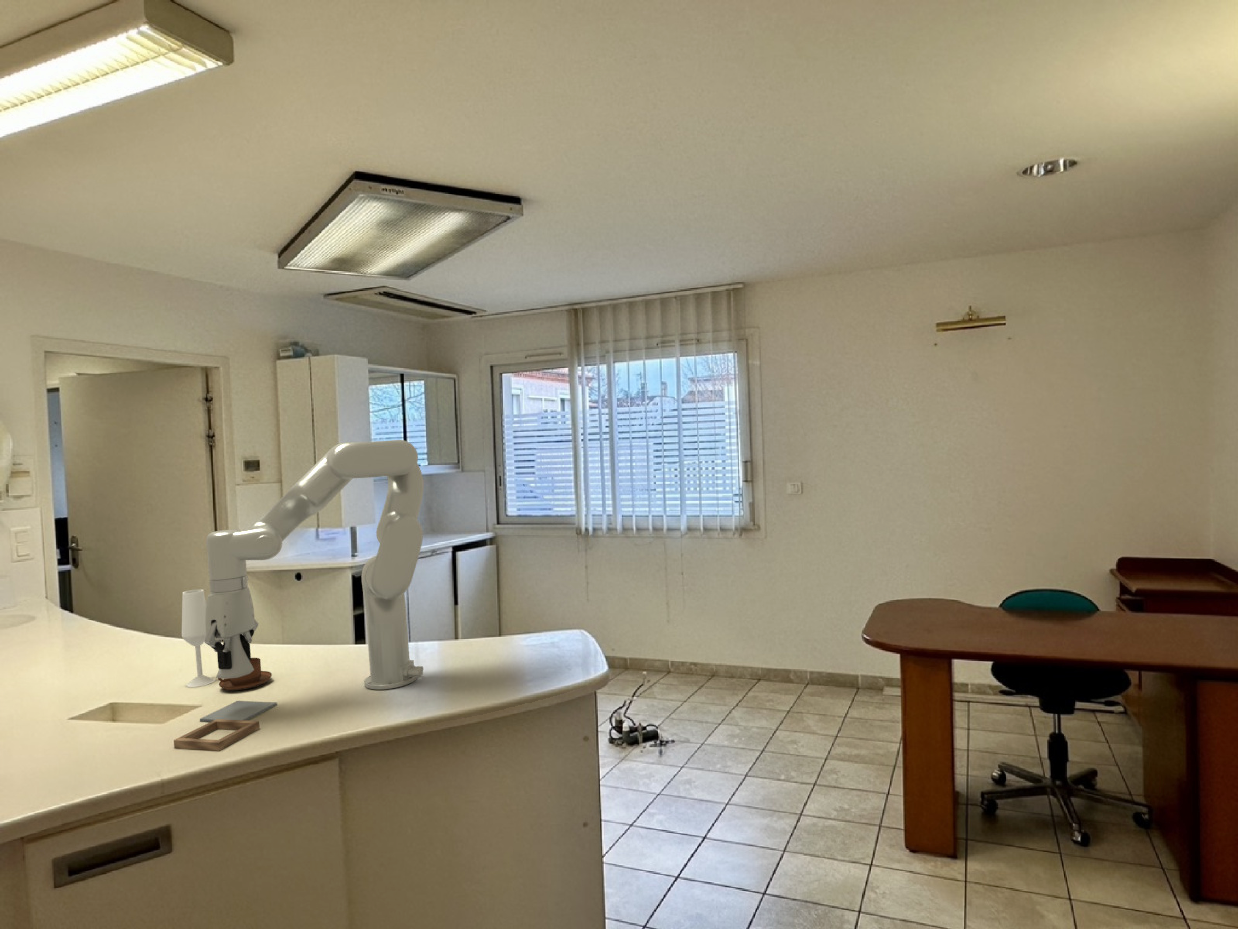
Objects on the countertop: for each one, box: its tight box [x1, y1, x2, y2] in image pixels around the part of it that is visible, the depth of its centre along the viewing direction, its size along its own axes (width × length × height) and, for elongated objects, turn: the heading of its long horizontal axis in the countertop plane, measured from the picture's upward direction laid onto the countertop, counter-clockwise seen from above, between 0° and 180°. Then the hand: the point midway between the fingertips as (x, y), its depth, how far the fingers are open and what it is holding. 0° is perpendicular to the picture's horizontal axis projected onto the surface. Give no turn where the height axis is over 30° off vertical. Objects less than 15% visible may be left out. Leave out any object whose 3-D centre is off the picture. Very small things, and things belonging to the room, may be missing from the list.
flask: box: [216, 634, 254, 679], centre depth 166 cm, size 7×7×10 cm
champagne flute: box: [181, 589, 216, 688], centre depth 190 cm, size 7×7×24 cm
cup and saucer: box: [217, 657, 273, 691], centre depth 186 cm, size 12×12×6 cm
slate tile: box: [199, 700, 278, 723], centre depth 166 cm, size 11×11×1 cm
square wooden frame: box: [173, 719, 260, 752], centre depth 152 cm, size 11×11×2 cm
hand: (234, 664), depth 166 cm, fingers closed on flask, 4 cm apart
